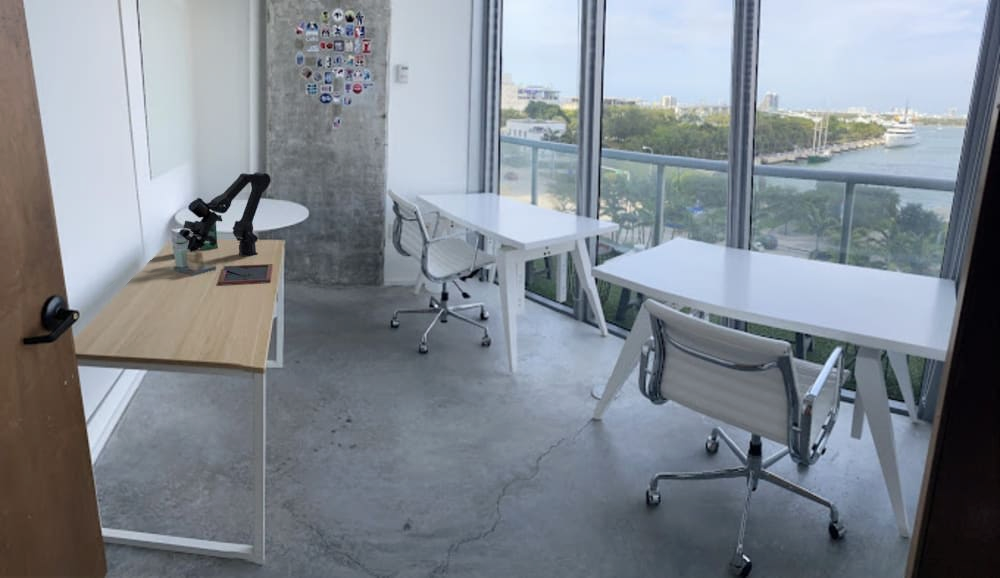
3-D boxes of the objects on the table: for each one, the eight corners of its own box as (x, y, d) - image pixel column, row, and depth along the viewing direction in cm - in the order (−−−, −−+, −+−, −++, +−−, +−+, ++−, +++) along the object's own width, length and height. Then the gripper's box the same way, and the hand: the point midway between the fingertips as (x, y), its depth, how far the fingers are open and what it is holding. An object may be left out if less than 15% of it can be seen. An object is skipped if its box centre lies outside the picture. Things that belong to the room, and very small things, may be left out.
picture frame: (224, 270, 318) (218, 286, 295) (223, 265, 318) (218, 281, 295) (272, 267, 323) (270, 283, 300) (272, 263, 323) (270, 279, 300)
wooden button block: (196, 266, 314) (195, 250, 312) (203, 268, 312) (202, 251, 310) (187, 268, 310) (185, 252, 308) (194, 270, 308) (192, 253, 306)
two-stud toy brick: (184, 263, 318) (183, 247, 316) (191, 265, 316) (189, 249, 314) (175, 266, 314) (173, 249, 312) (182, 267, 312) (180, 251, 310)
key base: (194, 264, 323) (194, 261, 323) (215, 269, 316) (215, 266, 316) (173, 270, 315) (173, 266, 314) (194, 275, 308) (194, 271, 307)
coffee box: (217, 246, 354) (215, 220, 351) (218, 248, 352) (215, 221, 348) (199, 248, 351) (196, 221, 347) (200, 249, 348) (197, 222, 345)
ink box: (190, 256, 337) (187, 231, 334) (178, 257, 334) (175, 232, 331) (184, 252, 343) (181, 227, 340) (173, 254, 340) (170, 229, 337)
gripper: (180, 210, 320) (160, 240, 314) (208, 215, 310) (188, 246, 305) (197, 225, 328) (178, 254, 323) (225, 230, 319) (206, 260, 313)
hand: (187, 253), depth 316 cm, fingers closed
